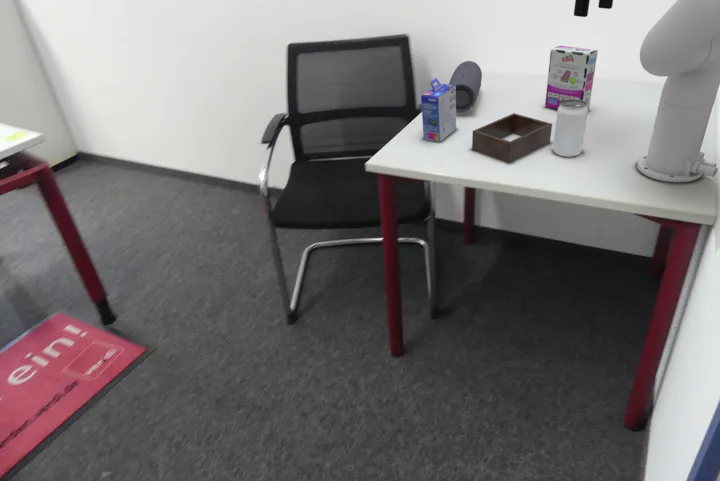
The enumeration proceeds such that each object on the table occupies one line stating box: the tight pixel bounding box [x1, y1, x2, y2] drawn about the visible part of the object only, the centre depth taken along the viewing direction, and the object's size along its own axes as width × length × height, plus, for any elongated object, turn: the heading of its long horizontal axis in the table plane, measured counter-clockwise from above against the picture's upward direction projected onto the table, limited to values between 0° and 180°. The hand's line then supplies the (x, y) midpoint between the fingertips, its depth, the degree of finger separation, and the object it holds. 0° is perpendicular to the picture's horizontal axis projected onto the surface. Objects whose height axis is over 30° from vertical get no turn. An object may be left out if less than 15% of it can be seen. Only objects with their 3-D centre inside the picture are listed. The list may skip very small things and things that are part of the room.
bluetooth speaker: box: [448, 60, 483, 113], centre depth 159 cm, size 23×9×10 cm, turn 165°
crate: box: [471, 112, 553, 164], centre depth 132 cm, size 12×16×5 cm
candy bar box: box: [544, 45, 599, 111], centre depth 147 cm, size 11×5×16 cm, turn 42°
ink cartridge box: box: [420, 78, 457, 143], centre depth 140 cm, size 10×6×14 cm, turn 146°
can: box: [552, 99, 589, 158], centre depth 125 cm, size 6×6×12 cm
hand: (592, 12), depth 124 cm, fingers open, 9 cm apart
